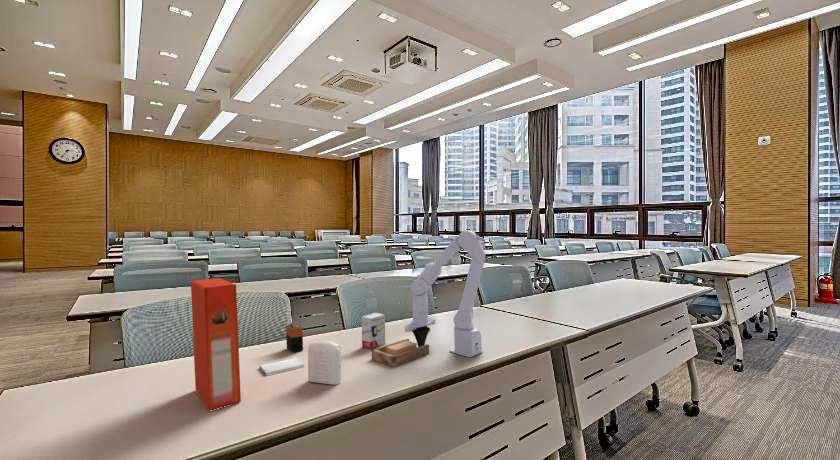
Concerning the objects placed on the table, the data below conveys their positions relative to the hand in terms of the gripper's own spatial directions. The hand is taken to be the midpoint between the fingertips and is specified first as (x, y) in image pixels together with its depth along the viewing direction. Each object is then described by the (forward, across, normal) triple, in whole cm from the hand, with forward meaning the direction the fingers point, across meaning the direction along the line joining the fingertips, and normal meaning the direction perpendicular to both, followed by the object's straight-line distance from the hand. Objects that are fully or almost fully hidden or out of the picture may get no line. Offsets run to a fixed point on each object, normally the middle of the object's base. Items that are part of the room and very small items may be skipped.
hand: (421, 346), depth 148 cm
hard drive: (+2, +44, -22) cm, 49 cm away
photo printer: (+1, +41, -2) cm, 41 cm away
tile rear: (+1, +7, 0) cm, 7 cm away
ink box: (+1, +8, -17) cm, 19 cm away
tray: (+1, +10, 0) cm, 10 cm away
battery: (+1, +31, -36) cm, 48 cm away
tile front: (+1, +12, 0) cm, 12 cm away
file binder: (+1, +66, -16) cm, 68 cm away
